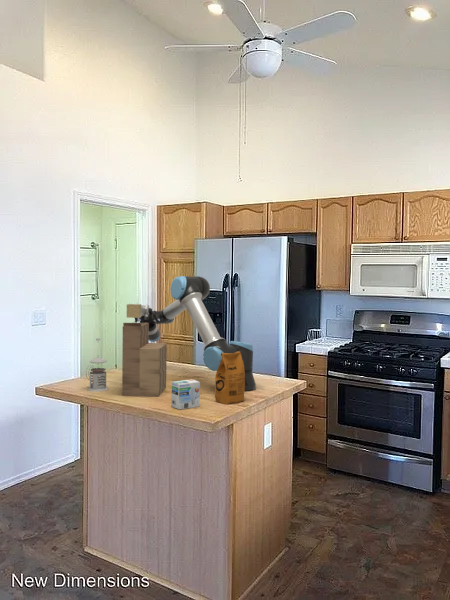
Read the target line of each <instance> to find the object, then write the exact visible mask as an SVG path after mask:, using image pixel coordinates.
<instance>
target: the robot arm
mask: <svg viewBox="0 0 450 600" xmlns="http://www.w3.org/2000/svg"><path fill="white" fill-rule="evenodd" d="M210 285H211V284H210V283H209V281H208V280H207V279H206V278H205V277H203V276H198V275H197V276H192V275H191V276H186V275H181V276H175V278H174V279H173V280H171V284H170V289H169V290H170V295H171V297H172V298H173V299H174V300H173V302H172V303H170V304H169V305H167V306H166V307H164V308H163V309H161V310H153V308H151V307H150V305H149V304H148V303H146V304H145V305H146V308H145V309H146V311H147V314H146V315H143V316H141V317H140V318H134V323H149V342H150V343H157V342H158V341H159V340H160V338H161V332H160V329H159V327H158V325H168V324H172V323H174V320H175V318H176V317H177V316H178V315H180V314H181V313H182V312H184V311H186V310H187V312H188V314H189V317H190V318H191V320H192V322H193V324H194V326H195V328H196V330H197V333H198V334H199V337H200V338H201V340H202V342H203V344H204V347H203V354H202V357H203V363H204V365H205V366H206V367H207V368H208V369H209V370H211V371H213V372H217V369H218V367H219V365H220V362H221V359H222V356H221V353H232V354H233V353H236V352H238V351H240V353H241V356H242V360H243V364H244V370H245V390H244V392H248V391H253V390H256V388H257V385H256V381H255V377H254V374H253V373H254V372H253V368H254V367H253V366H254V365H253V362H254V361H253V358H254V346H253V344H252V343H250V342H244V341H243V342H242V341H236V340H235V341H234V340H231V341H229V343H228V342H227V340H226V339H225V338H224V337H221V336H220V333H219V332H218V329H217V327H216V325H215V324H214V322H213V320H212V318H211V316H210V314H209V312H208V310H207V308H206V306H205V304H204V302H203V300H205V298H207V296H209V294H210V291H211V286H210ZM148 305H149V306H148Z"/></svg>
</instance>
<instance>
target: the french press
mask: <svg viewBox="0 0 450 600" xmlns="http://www.w3.org/2000/svg"><path fill="white" fill-rule="evenodd" d="M95 340H96V341H97V342H99V341H101V338H100V337H97V338H96V339H95ZM106 362H107V359H105V358H102V357H99V356H97V357H95V358H92V359H90V360H89V363H90V364H89V365H88V366H87V368H86V371H85V376H86V379H87V380H88V381H89V387H88V388H87V391H89V392H106V391H108V390H109V388H108V387H107V371H106V369H107V368H103V367H94V365H93V364H103V363H104V364H105V363H106ZM91 364H92V365H91ZM88 368H89V369H88ZM88 377H89V378H88Z"/></svg>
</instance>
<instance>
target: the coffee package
mask: <svg viewBox="0 0 450 600" xmlns="http://www.w3.org/2000/svg"><path fill="white" fill-rule="evenodd" d="M221 356H222V359H221V362H220V365H219V367H218V369H217V371H215V372H216V373H215V377H214V379H215V380H214V381H215V384H214V386H215V388H214V398H215V401H216V402H218V403H219V404H223V405H229V404H238V403H241V402H244V401H245V391H244V390H245V370H244V364H243V360H242V356H241V353H240V351H238V352H236V353H233V354H232V353H221Z"/></svg>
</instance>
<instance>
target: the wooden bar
mask: <svg viewBox="0 0 450 600" xmlns="http://www.w3.org/2000/svg"><path fill="white" fill-rule="evenodd" d="M148 306H149V307H150V305H149V304H148ZM145 308H146V304H145V305H142V304H141V303H127V304H126V318H128V319H129V318H130V319H131V318H132V319H133V318H134V319H135V318H140V317H141V316H143V315H146V314H147V311H146V309H145Z"/></svg>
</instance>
